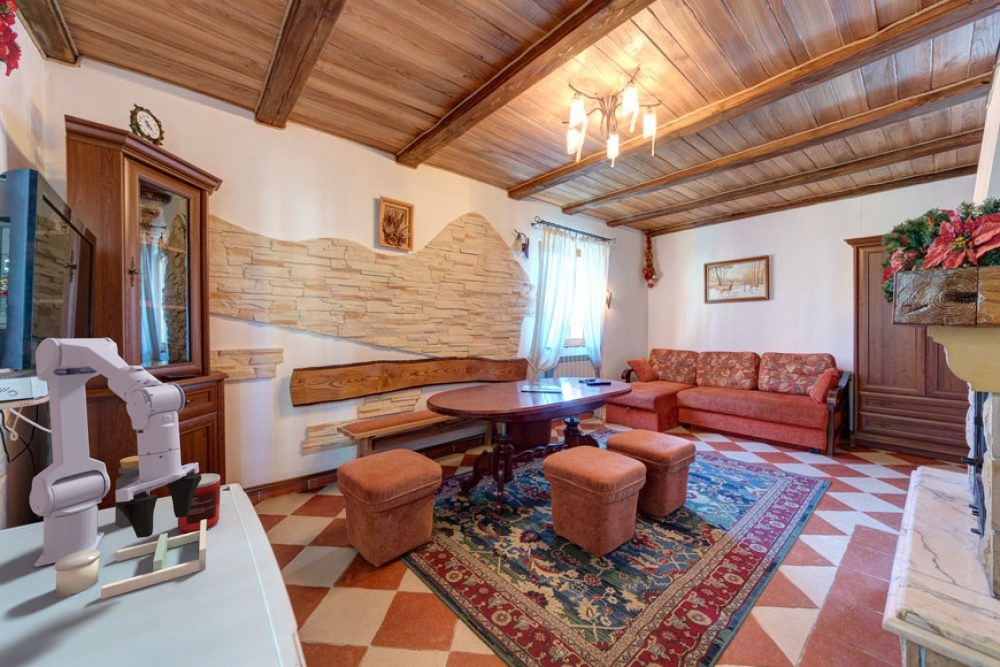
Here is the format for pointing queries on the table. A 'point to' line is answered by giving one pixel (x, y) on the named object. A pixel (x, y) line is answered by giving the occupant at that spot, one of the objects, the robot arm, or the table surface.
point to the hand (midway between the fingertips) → (164, 525)
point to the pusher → (160, 553)
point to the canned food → (203, 505)
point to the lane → (163, 573)
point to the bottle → (129, 476)
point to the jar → (77, 572)
